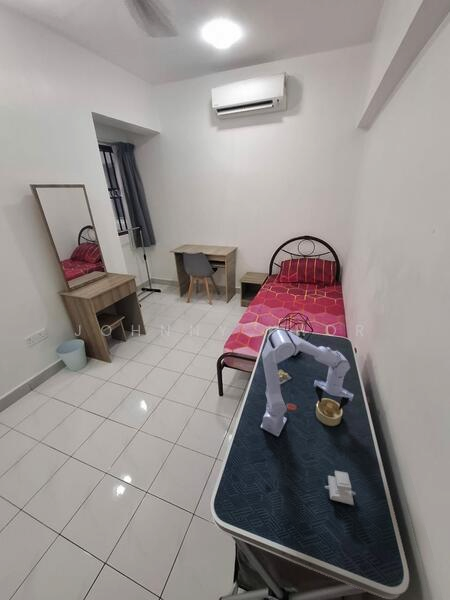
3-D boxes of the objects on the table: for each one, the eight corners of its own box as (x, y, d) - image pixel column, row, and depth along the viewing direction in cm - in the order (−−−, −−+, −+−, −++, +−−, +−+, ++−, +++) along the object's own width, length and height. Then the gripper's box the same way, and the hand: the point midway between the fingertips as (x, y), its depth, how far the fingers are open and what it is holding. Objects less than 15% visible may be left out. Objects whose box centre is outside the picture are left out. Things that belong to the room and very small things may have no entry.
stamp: (325, 502, 75) (328, 488, 71) (322, 479, 81) (326, 465, 77) (356, 510, 73) (362, 495, 69) (351, 486, 79) (356, 471, 75)
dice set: (288, 377, 123) (288, 374, 123) (280, 381, 121) (280, 378, 120) (281, 371, 127) (281, 368, 127) (274, 375, 125) (274, 372, 124)
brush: (332, 420, 99) (334, 411, 97) (321, 415, 102) (323, 406, 99) (334, 412, 103) (336, 403, 100) (324, 408, 105) (325, 399, 102)
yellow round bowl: (337, 430, 96) (339, 422, 94) (312, 418, 101) (313, 411, 99) (342, 412, 103) (344, 404, 101) (319, 402, 109) (320, 394, 107)
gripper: (357, 380, 93) (350, 405, 99) (318, 367, 100) (314, 390, 106) (354, 393, 88) (347, 418, 94) (313, 378, 95) (310, 402, 101)
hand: (329, 404), depth 100 cm, fingers open, 7 cm apart
